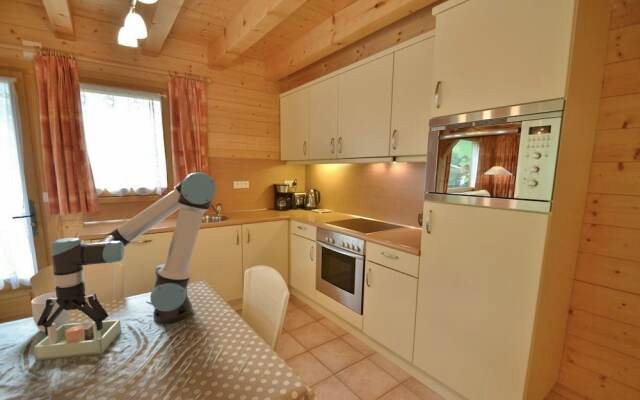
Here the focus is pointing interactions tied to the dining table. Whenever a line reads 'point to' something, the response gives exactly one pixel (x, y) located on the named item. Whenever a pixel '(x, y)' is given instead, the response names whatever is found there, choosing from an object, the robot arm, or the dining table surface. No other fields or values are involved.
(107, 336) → the tray
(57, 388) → the dining table surface
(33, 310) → the mug
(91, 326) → the walnut cube
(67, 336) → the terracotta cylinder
